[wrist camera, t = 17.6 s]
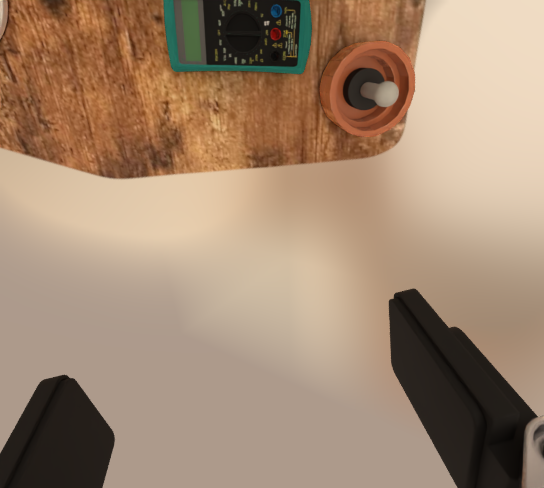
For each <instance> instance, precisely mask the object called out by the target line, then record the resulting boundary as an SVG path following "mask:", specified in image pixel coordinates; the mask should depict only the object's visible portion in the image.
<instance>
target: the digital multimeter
mask: <svg viewBox="0 0 544 488" xmlns="http://www.w3.org/2000/svg"><path fill="white" fill-rule="evenodd" d="M164 20H165V31H166V39H167V46H168V52H169V58H170V63H171V67H172V69H173V70H174V71H176V72H184V71H258V72H277V73H291V74H302V73H303V72H304V70H305V66H306V62H307V59H308V55H309V50H310V45H311V35H312V22H311V11H310V3H309V0H164Z"/></svg>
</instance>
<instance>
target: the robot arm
mask: <svg viewBox="0 0 544 488" xmlns="http://www.w3.org/2000/svg"><path fill="white" fill-rule="evenodd" d="M7 17H8V3H7V0H0V39H1V37H2V35H3V33H4V30H5V27H6V23H7ZM389 317H390V318H389V319H390V342H391V343H390V344H391V363H392V367H393V370H394V373H395V375H396V377H397V378H398V380H399V382H400V384H401V386H402V387H403V389H404V391H405V393H406V395H407V397H408V398H409V400H410V402H411V404H412V405H413V408H414V409H415V411H416V413H417V414H418V417H419V418H420V420H421V422H422V424H423V426H424V428H425V429H426V431H427V433H428V435H429V436H430V438H431V440H432V442H433V444H434V446H435V448H436V449H437V451H438V453H439V455H440V456H441V459H442V460H443V462H444V464H445V466H446V468H447V469H448V471H449V473H450V475H451V477H452V478H453V480H454V482H455V484H456V486H457V487H458V488H544V416H540V417H538V416H537V415H536V414H535V413H534V412H533V411H532V410H531V409H530V407H529V406H528V405H527V404H526V403H525V402H524V400H523V399H522V398H521V397H520V396H519V395H518V394H517V392H515V390H514V389H513V388H512V387H511V386H510V385H509V384H508V382H507V381H506V380H505V379H504V378H503V377H502V376H501V374H500V373H499V372H498V371H497V370H496V369H495V368H494V366H493V365H492V364H491V363H490V362H489V361H488V360H487V358H486V357H485V356H484V355H483V354H482V353H481V352H480V350H479V349H478V348H477V347H476V346H475V345H474V344H473V343H472V341H471V340H470V339H469V338H468V337H467V336H466V335H465V333H464V332H462V330H460V329H459V328H457V327H451V328H448V326H447V325H446V324H445V323H444V322H443V321H442V319H441V318H440V317H439V316H438V315H437V313H436V312H435V311H434V310H433V309H432V307H431V306H430V305H429V304H428V303H427V302H426V300H425V299H424V298H423V297H422V295H421V294H420V293H419V292H418V291H417V290H416V289H410V290H406V291H402V292H398V293H395V294H394V299H390V300H389ZM114 441H115V438H114V433H113V431H112V429H111V428H110V427H109V425H108V424H107V423H106V421H105V420H104V418H103V417H102V416H101V414H100V413H99V412H98V410H97V409H96V407H95V406H94V405H93V403H92V402H91V401H90V399H89V398H88V396H87V395H86V394H85V392H84V391H83V390H82V388H81V387H80V385H79V384H78V383H77V381H76V380H75V379H73V378H69V377H68V376H67V375H61V376H57V377H53V378H49V379H45V380H43V381H41V382H40V384H39V385H38V386H37V388H36V390H35V392H34V394H33V396H32V397H31V399H30V401H29V403H28V405H27V406H26V408H25V410H24V412H23V414H22V415H21V417H20V419H19V421H18V423H17V424H16V426H15V428H14V430H13V432H12V433H11V435H10V437H9V439H8V441H7V442H6V444H5V446H4V448H3V450H2V451H1V453H0V488H102V487H103V483H104V480H105V476H106V472H107V469H108V465H109V462H110V458H111V454H112V450H113V447H114Z"/></svg>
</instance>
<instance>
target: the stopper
mask: <svg viewBox="0 0 544 488" xmlns="http://www.w3.org/2000/svg"><path fill="white" fill-rule="evenodd" d="M398 95H399V90H398V87H397V85H396V84H395V83H393V82H391V81H385V80H384V77H383V76H382V74H381V73H380V72H379V71H378V70H376V69H373V68H358V69H356V70H354V71H352V72H351V73H350V74H349V75H348V77H347V78H346V80H345V82H344V85H343V96H344V99H345V101H346V102H347V103H348V104H349V105H350V106H351V107H354V108H356V109H359V110H369V109H372V108H374V107H375V106H376V105H379V106H381V107H389V106H391V105H393V104H394V103H395V102H396V100H397V98H398Z"/></svg>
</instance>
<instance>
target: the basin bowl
mask: <svg viewBox="0 0 544 488" xmlns="http://www.w3.org/2000/svg"><path fill="white" fill-rule="evenodd" d="M358 68H373V69H376V70H378V71H379V72H380V73H381V74H382V76H383V77H384V80H385V81H391V82H393V83H395V84H396V85H397V87H398V90H399V95H398V98H397V100H396V102H395V103H394V104H393V105H391V106H389V107H381V106H379V105H376V106H375V107H374V108H372V109H369V110H359V109H356V108H354V107H351V106H350V105H349V104H348V103H347V102H346V101H345V99H344V96H343V85H344V82H345V80H346V78H347V77H348V75H349V74H350V73H351V72H352V71H354V70H356V69H358ZM414 91H415V73H414V70H413V67H412V64H411V61H410V58H409V57H408V56H407V55H406V54H405V52H404V51H403V50H402V49H401V48H400V47H398V46H396V45H394V44H392V43H389V42H387V41H369V42H359V43H354V44H352V45H350V46H347V47H345V48H343V49H341V50H340V51H339V52H338V53H337V54H336V55H335V56H334V57H333V58H332V59H331V60H330V61H329V63H328V65H327V67H326V69H325V71H324V72H323V75H322V79H321V84H320V89H319V92H320V100H321V106H322V108H323V110H324V112H325V114H326V116H327V117H328V118H329V119H330V120H331V121H332V122H333V123H334V124H335V125H336V126H338V127H340V128H341V129H343V130H345V131H346V132H348V133H350V134H353V135H356V136H359V137H372V136H377V135H379V134H382V133H384V132H386V131H388V130H390V129H391V128H392V127H393V126H395V125H396V124H397V123H398V122H399V121H400V120H401V119H402V117H403V116H404V114H405V113H406V111H407V110H408V108H409V107H410V104H411V101H412V98H413V94H414Z"/></svg>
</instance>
